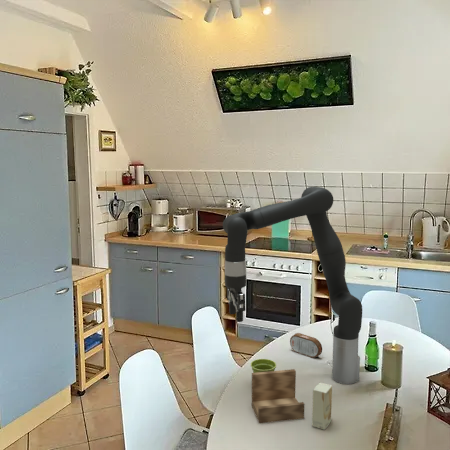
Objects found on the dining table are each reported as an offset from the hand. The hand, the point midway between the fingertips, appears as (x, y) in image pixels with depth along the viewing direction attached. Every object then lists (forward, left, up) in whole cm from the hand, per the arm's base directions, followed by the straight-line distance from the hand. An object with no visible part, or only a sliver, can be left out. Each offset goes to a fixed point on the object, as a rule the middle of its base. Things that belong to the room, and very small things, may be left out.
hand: (236, 317), depth 163 cm
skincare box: (-23, +25, -28) cm, 44 cm away
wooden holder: (-11, +16, -28) cm, 34 cm away
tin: (-36, -26, -28) cm, 53 cm away
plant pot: (-11, -2, -28) cm, 30 cm away
